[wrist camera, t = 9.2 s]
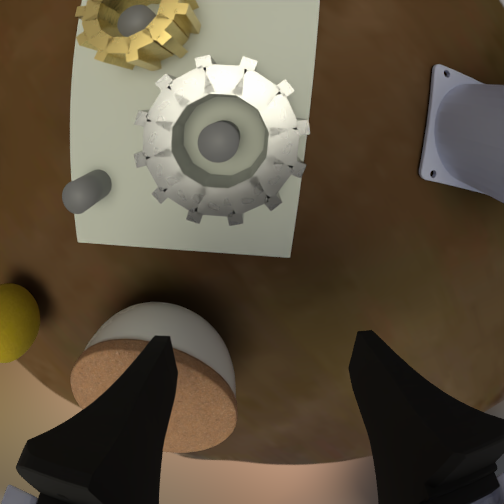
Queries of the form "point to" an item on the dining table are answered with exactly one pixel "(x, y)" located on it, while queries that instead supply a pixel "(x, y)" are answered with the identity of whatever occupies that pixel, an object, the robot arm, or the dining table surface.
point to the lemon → (17, 321)
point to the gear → (195, 178)
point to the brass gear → (143, 42)
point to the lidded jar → (188, 365)
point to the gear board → (187, 129)
